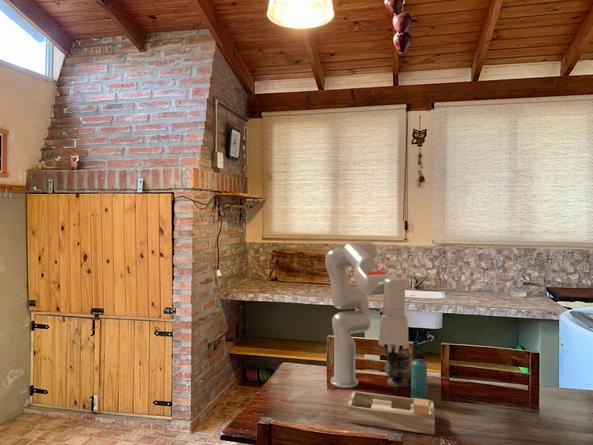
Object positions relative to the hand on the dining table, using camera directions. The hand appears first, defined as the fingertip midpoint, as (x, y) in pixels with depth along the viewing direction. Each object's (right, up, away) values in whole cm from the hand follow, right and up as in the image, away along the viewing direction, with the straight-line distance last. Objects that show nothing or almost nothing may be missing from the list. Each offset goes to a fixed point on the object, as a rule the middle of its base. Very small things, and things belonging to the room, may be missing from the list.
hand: (393, 362), depth 146 cm
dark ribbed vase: (+11, -22, +36) cm, 44 cm away
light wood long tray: (0, -22, +3) cm, 22 cm away
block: (+9, -18, -3) cm, 20 cm away
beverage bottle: (+15, -22, +17) cm, 32 cm away
